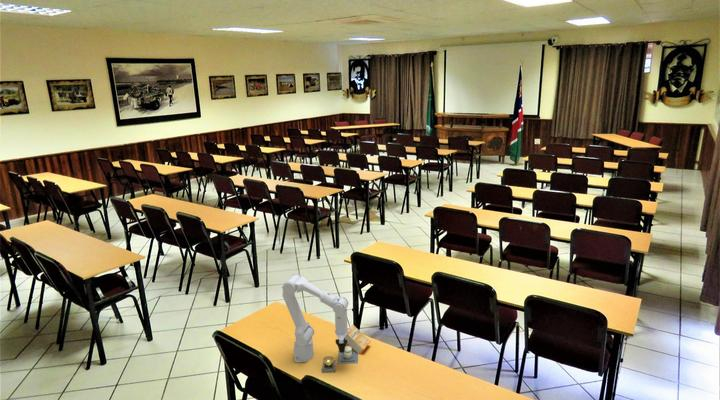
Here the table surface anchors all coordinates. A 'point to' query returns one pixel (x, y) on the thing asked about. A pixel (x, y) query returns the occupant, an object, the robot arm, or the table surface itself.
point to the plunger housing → (328, 368)
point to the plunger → (328, 361)
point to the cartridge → (348, 353)
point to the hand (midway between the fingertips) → (342, 347)
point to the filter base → (351, 361)
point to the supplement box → (356, 339)
